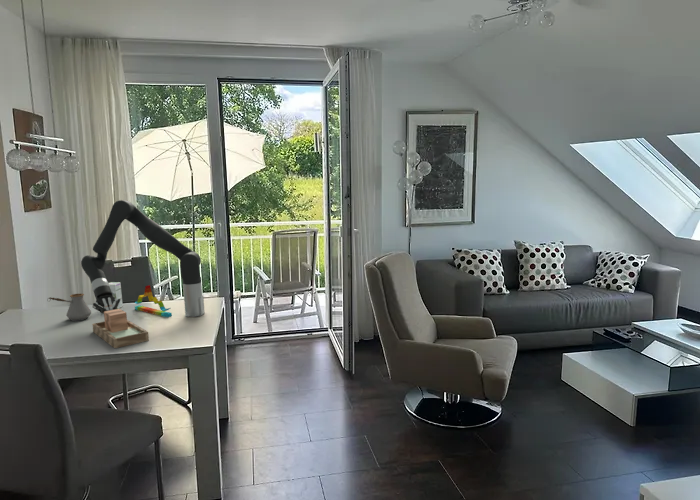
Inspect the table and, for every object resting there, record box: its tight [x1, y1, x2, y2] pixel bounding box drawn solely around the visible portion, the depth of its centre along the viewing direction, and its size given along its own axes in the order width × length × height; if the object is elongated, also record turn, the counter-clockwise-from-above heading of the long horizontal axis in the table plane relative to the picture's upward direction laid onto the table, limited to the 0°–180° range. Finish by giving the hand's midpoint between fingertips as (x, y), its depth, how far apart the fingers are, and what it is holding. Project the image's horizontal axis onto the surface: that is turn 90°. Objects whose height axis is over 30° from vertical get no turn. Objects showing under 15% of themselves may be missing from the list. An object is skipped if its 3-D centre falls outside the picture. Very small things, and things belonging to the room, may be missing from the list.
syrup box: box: [108, 281, 124, 309], centre depth 279 cm, size 6×6×14 cm
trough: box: [91, 319, 150, 349], centre depth 228 cm, size 33×14×4 cm, turn 42°
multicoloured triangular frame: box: [134, 284, 173, 318], centre depth 267 cm, size 30×3×15 cm, turn 54°
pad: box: [110, 328, 140, 338], centre depth 224 cm, size 10×12×2 cm
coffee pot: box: [47, 293, 92, 322], centre depth 254 cm, size 21×12×15 cm, turn 156°
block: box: [103, 308, 128, 333], centre depth 230 cm, size 10×7×8 cm
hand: (111, 318), depth 235 cm, fingers closed
